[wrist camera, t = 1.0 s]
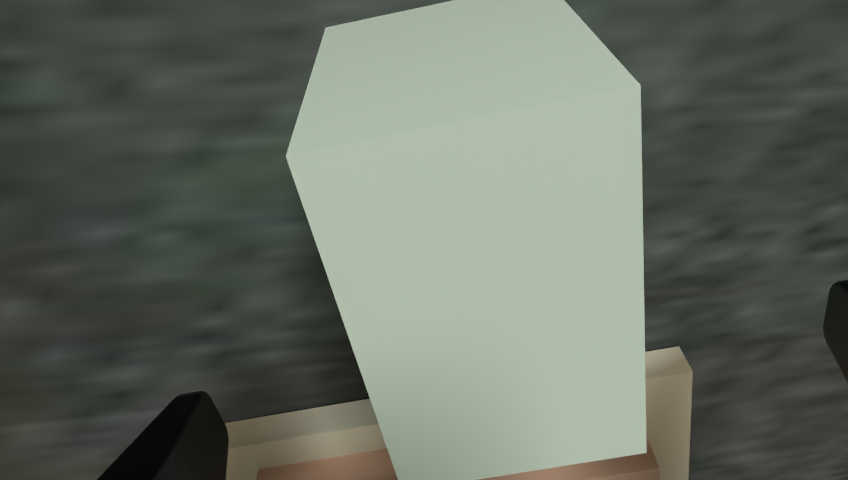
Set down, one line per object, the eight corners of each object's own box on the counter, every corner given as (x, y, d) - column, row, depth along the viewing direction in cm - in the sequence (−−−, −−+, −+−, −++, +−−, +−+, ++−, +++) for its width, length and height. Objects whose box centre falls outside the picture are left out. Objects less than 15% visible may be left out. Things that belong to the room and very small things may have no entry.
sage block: (545, -21, 13) (640, 84, 8) (571, 261, 17) (646, 452, 12) (326, 26, 13) (285, 156, 8) (399, 292, 17) (401, 491, 12)
